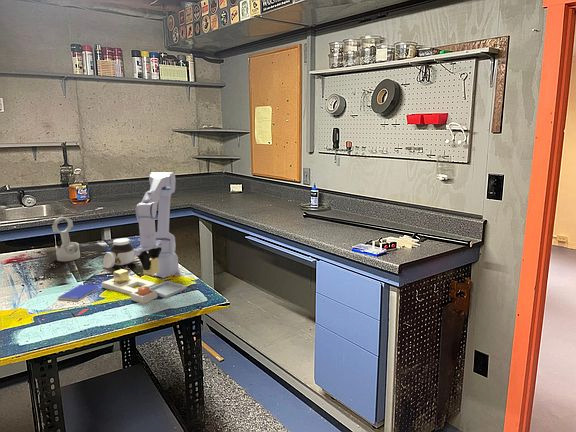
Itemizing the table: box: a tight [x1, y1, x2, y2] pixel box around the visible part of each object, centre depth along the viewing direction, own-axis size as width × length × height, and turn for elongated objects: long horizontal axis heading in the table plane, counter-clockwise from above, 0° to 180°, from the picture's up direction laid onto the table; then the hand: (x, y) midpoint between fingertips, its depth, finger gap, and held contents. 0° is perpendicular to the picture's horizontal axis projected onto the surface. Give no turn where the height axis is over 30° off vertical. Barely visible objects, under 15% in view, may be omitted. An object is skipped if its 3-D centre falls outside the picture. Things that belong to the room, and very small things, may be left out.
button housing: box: [130, 289, 158, 305], centre depth 160 cm, size 7×7×3 cm
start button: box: [137, 286, 150, 296], centre depth 160 cm, size 4×4×3 cm
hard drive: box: [57, 284, 99, 302], centre depth 166 cm, size 2×8×12 cm
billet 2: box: [142, 256, 159, 276], centre depth 167 cm, size 4×4×6 cm
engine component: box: [51, 216, 81, 262], centre depth 205 cm, size 11×20×10 cm
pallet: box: [101, 275, 158, 296], centre depth 172 cm, size 11×19×2 cm, turn 59°
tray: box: [149, 280, 188, 299], centre depth 168 cm, size 11×11×2 cm
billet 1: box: [112, 268, 130, 284], centre depth 174 cm, size 4×4×6 cm
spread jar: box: [102, 237, 136, 269], centre depth 196 cm, size 12×11×12 cm
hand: (150, 267), depth 167 cm, fingers closed on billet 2, 4 cm apart
